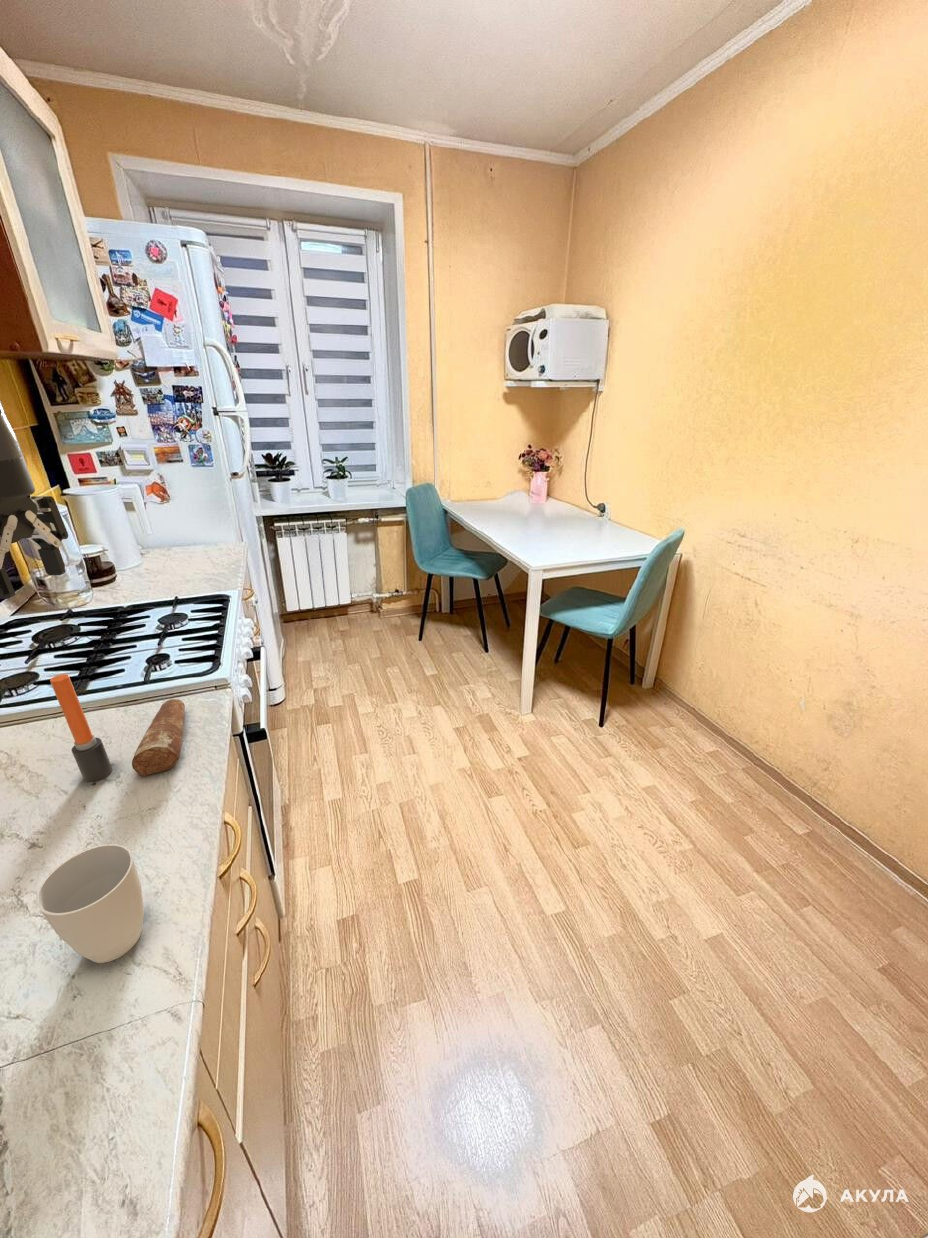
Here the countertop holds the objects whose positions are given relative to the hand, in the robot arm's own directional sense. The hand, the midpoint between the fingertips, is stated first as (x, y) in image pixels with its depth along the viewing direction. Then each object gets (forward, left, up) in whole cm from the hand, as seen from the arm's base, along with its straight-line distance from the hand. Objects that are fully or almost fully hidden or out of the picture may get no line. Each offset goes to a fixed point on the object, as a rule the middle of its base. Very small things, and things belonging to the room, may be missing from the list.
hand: (32, 585), depth 65 cm
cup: (+18, -26, -32) cm, 45 cm away
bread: (+5, +8, -32) cm, 34 cm away
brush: (-1, 0, -32) cm, 32 cm away
